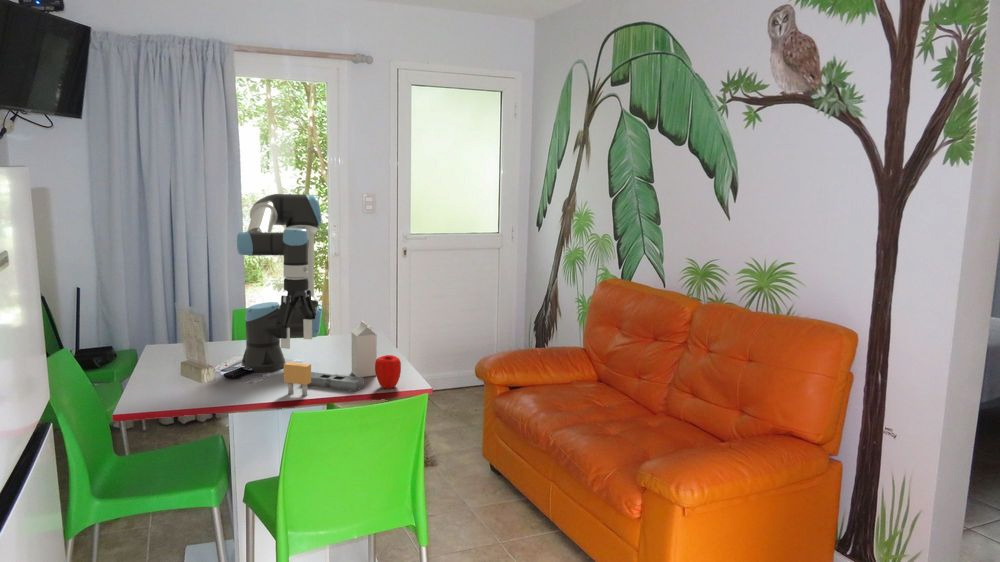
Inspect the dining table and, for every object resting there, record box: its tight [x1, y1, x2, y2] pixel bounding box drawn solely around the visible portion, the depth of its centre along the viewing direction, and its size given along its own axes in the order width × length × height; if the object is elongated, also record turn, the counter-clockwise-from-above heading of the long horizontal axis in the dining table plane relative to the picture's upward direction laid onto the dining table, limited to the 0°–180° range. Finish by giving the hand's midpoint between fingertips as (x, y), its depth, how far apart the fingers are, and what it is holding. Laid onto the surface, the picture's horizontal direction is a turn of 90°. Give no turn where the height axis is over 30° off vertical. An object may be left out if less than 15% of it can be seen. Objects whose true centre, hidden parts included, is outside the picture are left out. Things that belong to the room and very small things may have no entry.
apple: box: [375, 354, 402, 389], centre depth 239 cm, size 9×9×11 cm
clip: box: [283, 361, 312, 397], centre depth 229 cm, size 8×3×10 cm, turn 75°
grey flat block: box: [300, 371, 365, 392], centre depth 240 cm, size 20×6×3 cm, turn 75°
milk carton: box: [351, 320, 378, 378], centre depth 253 cm, size 7×7×19 cm
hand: (297, 343), depth 227 cm, fingers open, 13 cm apart
